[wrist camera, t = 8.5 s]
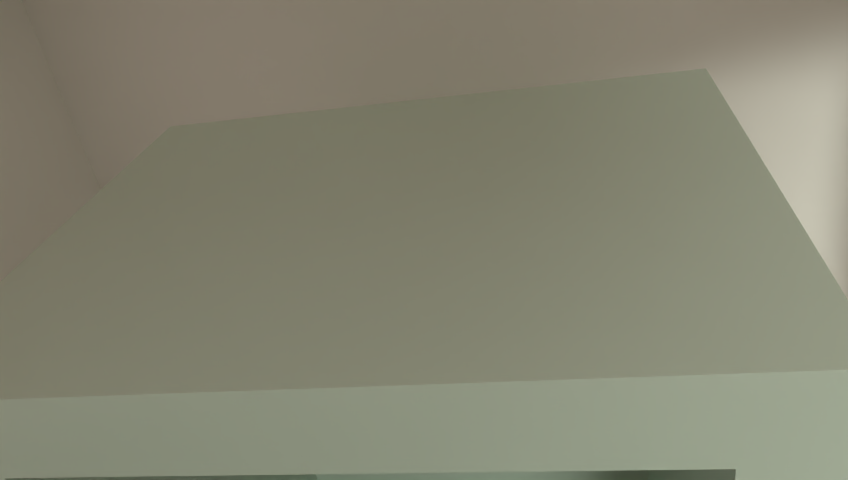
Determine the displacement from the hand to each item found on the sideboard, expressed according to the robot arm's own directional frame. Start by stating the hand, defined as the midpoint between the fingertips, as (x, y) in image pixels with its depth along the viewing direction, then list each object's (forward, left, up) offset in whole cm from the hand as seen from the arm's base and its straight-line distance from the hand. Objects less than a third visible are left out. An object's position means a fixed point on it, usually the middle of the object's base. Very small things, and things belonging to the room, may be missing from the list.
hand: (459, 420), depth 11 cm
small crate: (0, 0, -1) cm, 1 cm away
